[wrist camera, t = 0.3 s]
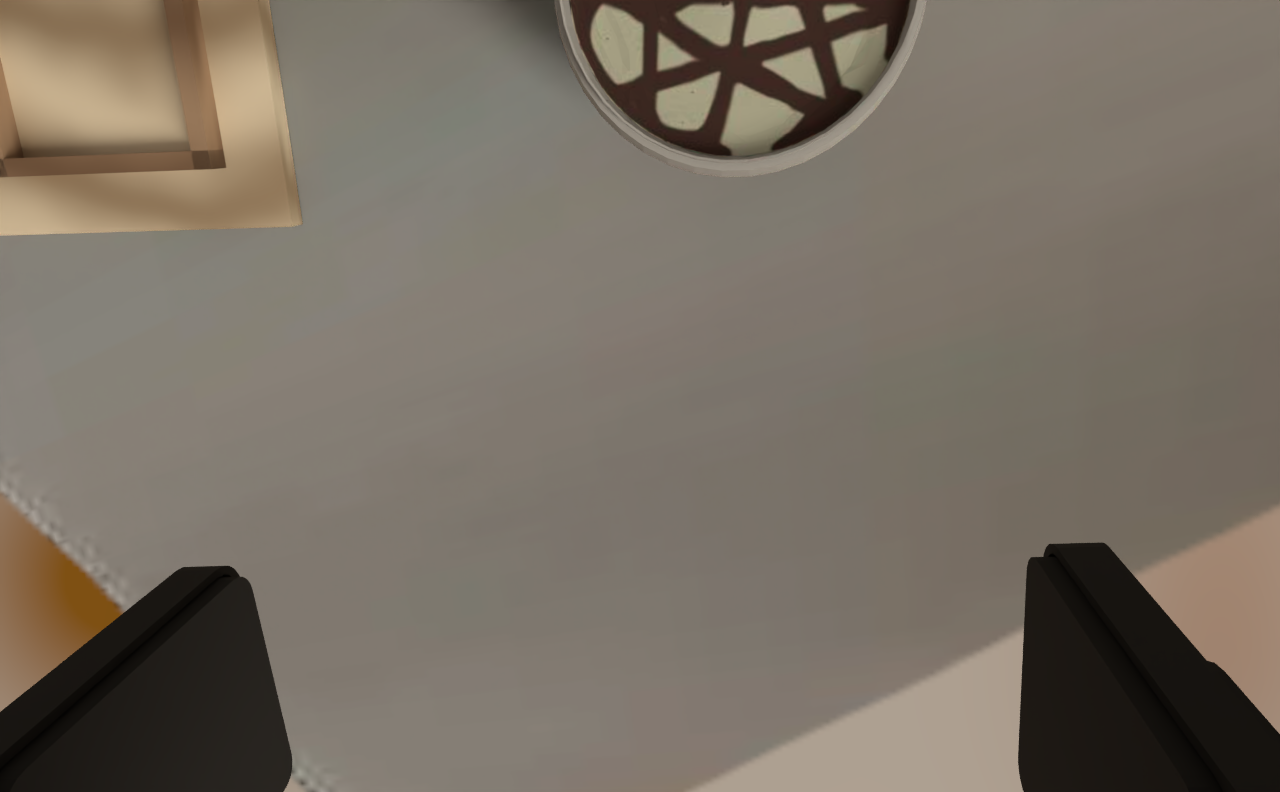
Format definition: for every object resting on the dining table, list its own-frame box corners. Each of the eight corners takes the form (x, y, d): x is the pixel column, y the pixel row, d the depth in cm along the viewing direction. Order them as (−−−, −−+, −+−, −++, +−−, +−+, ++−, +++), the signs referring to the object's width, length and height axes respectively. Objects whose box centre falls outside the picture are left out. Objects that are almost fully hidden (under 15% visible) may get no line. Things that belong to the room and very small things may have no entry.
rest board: (-123, -217, 38) (-173, -237, 36) (231, -251, 36) (199, -274, 34) (-9, 233, 43) (-47, 239, 41) (302, 224, 41) (279, 229, 39)
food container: (585, 157, 39) (535, 169, 30) (591, 6, 37) (539, -33, 28) (868, 175, 38) (910, 193, 29) (888, 20, 36) (941, -15, 27)
